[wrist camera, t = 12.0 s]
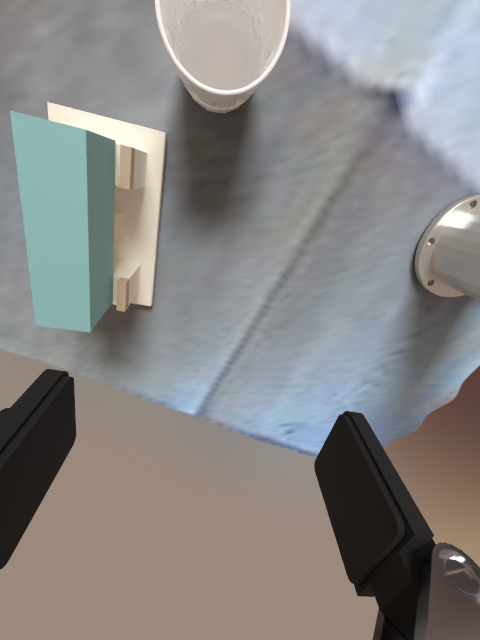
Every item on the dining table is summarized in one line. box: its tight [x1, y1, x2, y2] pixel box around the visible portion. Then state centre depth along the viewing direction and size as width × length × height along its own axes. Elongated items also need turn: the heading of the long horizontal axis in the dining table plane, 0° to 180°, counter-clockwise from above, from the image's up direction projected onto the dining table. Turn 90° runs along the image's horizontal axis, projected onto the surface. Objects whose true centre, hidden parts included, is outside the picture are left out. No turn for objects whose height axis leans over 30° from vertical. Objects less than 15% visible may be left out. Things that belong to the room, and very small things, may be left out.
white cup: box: [155, 0, 290, 114], centre depth 21 cm, size 8×8×10 cm
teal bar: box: [10, 111, 116, 332], centre depth 22 cm, size 4×14×6 cm, turn 168°
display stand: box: [48, 102, 167, 312], centre depth 27 cm, size 10×18×7 cm, turn 168°
